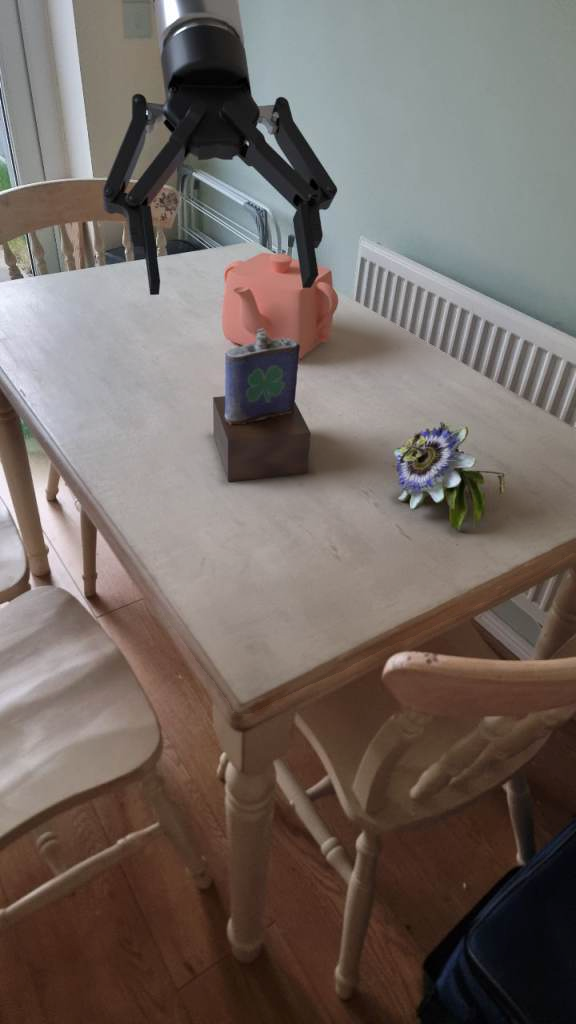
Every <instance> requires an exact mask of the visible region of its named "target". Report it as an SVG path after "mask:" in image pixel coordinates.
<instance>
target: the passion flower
mask: <svg viewBox="0 0 576 1024" xmlns="http://www.w3.org/2000/svg"><path fill="white" fill-rule="evenodd" d="M439 425H440V427H438V428H437V429H436V428H435V427H433V428H432V430H430V429H429V428H426V429H425V431H423V430H420V431H419V432H417V433H414V435H413V436H412V437H410V438H409V439H407V441H406V442H405V443H404V444H403V445H402V446H401V447H397V448H395V449H394V450H393V454H394V456H395V457H396V459H397V463H396V465H395V468H396V472H397V473H398V475H397V476H398V480H397V483H398V485H399V486H400V488H401V490H403V491H402V492H401V493H400V495H399V497H397V500H398V501H400V502H408V501H409V508H410V510H412V511H413V510H417V509H419V508H421V507H422V506H423V505H424V504H425V502H426V500H427V498H428V496H430V497H431V499H432V500H433V501H434V502H435V503H436V504H439V503H441V502H443V501H444V500H445V499H446V503H447V506H448V514H449V515H448V516H449V517H448V519H449V525H450V527H451V528H452V529H454V530H456V532H461V531H462V527H463V524H464V523H465V521H466V519H467V514H468V510H469V509H468V505H467V496H466V489H468V493H469V495H470V498H471V503H472V504H471V505H472V508H471V509H472V518H473V525H472V527H473V528H474V527H476V524H478V522H479V521H480V520H481V518H482V517H483V516H484V512H485V506H486V504H485V501H486V499H485V498H486V496H485V495H486V494H485V492H484V491H483V490H482V487H481V486H480V485H484V483H485V479H484V478H485V477H484V475H483V474H482V473H485V474H496V475H497V478H498V481H499V490H498V493H499V494H500V495H502V494H504V493H505V475H506V474H505V473H504V472H499V471H490V470H466V469H469V468H472V467H474V466H475V465H476V463H477V458H476V457H475V456H473V455H471V454H469V453H465V451H463V450H462V451H460V450H459V448H460V446H461V445H462V444H463V443H464V442H465V440H466V439H467V437H468V435H469V429H468V428H469V427H468V426H461V427H458V428H457V429H456V430H453V428H452V425H451V424H449V423H444V422H443V421H440V423H439Z"/></svg>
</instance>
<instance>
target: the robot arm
mask: <svg viewBox="0 0 576 1024" xmlns="http://www.w3.org/2000/svg"><path fill="white" fill-rule="evenodd" d="M152 1H153V9H154V15H155V23H156V33H157V41H158V46H159V54H160V66H161V72H162V80H163V88H164V95H165V101H164V103H154V102H148V101H147V98H146V97H145V95H143V94H141V93H135V94H133V95H132V97H131V120H130V122H129V123H128V126H127V129H126V132H125V134H124V137H123V139H122V141H121V143H120V146H119V149H118V151H117V153H116V157H115V158H114V161H113V163H112V165H111V168H110V170H109V173H108V175H107V178H106V181H105V184H104V185H103V188H102V201H103V209H104V211H105V212H106V213H107V214H110V215H114V214H119V215H122V216H123V217H125V220H126V222H127V229H128V236H129V245H130V249H131V251H132V253H133V255H144V257H145V259H144V260H145V265H146V273H147V281H148V288H149V289H148V290H149V295H150V296H158V295H160V289H161V276H160V270H159V261H158V253H157V245H156V238H155V237H156V236H155V230H154V222H153V215H152V207H151V203H153V201H154V200H155V198H156V197H157V196H158V194H159V193H160V191H161V190H162V189H163V188H164V187H165V185H166V184H167V182H169V180H170V178H171V177H172V176H173V175H174V173H175V172H176V170H177V169H178V168H180V167H182V165H183V164H184V163H185V161H187V159H188V158H189V156H190V155H192V156H193V157H196V158H197V160H198V161H206V160H207V161H208V160H211V159H220V160H223V161H232V160H233V159H234V157H238V158H239V159H240V160H241V161H242V162H243V163H244V164H245V165H246V166H248V167H252V168H253V169H254V170H255V171H256V172H257V173H258V174H259V175H260V176H261V177H263V179H264V180H265V181H266V182H268V183H269V185H270V186H271V187H273V188H274V189H275V191H277V192H278V193H279V195H281V196H282V197H283V198H284V200H285V201H287V203H288V204H290V205H291V206H292V207H293V209H295V212H294V215H293V217H292V224H293V229H294V238H295V244H296V252H297V258H298V259H297V260H299V266H300V273H301V279H302V286H303V288H311V286H312V285H313V283H314V281H315V280H316V278H317V276H318V275H319V274H318V268H317V265H318V261H317V255H316V249H318V248H319V246H320V244H321V243H322V241H323V236H324V234H323V229H322V228H323V227H322V219H321V212H320V211H321V210H322V211H327V210H329V208H330V207H331V205H332V203H333V201H334V199H335V197H336V195H337V193H338V188H337V185H336V183H335V182H334V180H333V179H332V178H331V176H330V174H329V173H328V171H327V170H326V168H325V166H324V165H323V164H322V162H321V160H320V159H319V158H318V156H317V155H316V153H315V152H314V150H313V148H312V146H311V145H310V144H309V143H308V141H307V139H306V138H305V136H304V135H303V133H302V131H301V130H300V128H299V127H298V125H297V124H296V123H295V120H294V118H293V114H292V111H291V107H290V103H289V101H288V99H287V98H286V97H283V96H279V97H277V98H276V99H275V102H274V104H267V105H258V104H257V103H256V100H255V99H254V98H253V94H252V88H251V87H252V86H251V81H250V74H249V73H250V72H249V67H248V59H247V53H246V49H245V40H244V39H245V38H244V37H245V36H244V31H243V25H242V18H241V12H240V5H239V0H152ZM159 123H163V125H164V126H165V128H166V129H167V130H168V131H169V132H170V133H171V134H170V136H169V138H168V140H167V142H166V143H165V145H164V146H163V147H162V149H161V150H160V151H159V152H158V154H157V155H156V157H154V159H153V160H152V161H151V163H150V164H149V165H148V167H147V168H146V169H145V171H143V174H142V175H140V177H139V178H138V180H137V181H136V183H135V184H134V185H133V186H132V188H131V189H130V190H129V192H128V193H127V189H128V187H129V183H130V182H131V178H132V176H133V173H134V171H135V169H136V166H137V164H138V161H139V159H140V157H141V154H142V152H143V151H142V150H144V146H145V144H146V138H147V134H148V135H150V134H152V132H153V131H155V129H156V127H157V124H159ZM258 124H262V125H264V127H265V129H266V130H267V133H268V134H269V135H270V136H273V135H274V136H273V137H274V139H275V141H276V144H277V145H278V147H279V149H280V151H281V152H282V153H283V155H284V156H285V158H286V159H287V161H288V162H289V163H288V162H287V161H286V159H284V158H283V157H282V156H281V155H280V154H279V153H278V152H277V151H276V150H275V148H273V147H272V146H271V145H270V144H269V143H268V142H267V141H266V138H265V135H264V133H263V132H262V131H261V130H260V129H259V128H258V127H257V126H258ZM247 143H248V144H247Z"/></svg>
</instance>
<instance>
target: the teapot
mask: <svg viewBox="0 0 576 1024" xmlns="http://www.w3.org/2000/svg"><path fill="white" fill-rule="evenodd" d="M317 268H318V274H319V275H318V276H317V278H316V280H315V281H314V283H313V285H312V286H311V288H303V286H302V279H301V273H300V266H299V259H295V258H293V257H292V256H291V255H288V254H286V253H269V252H261V253H259V254H256V255H255V256H252V257H250V258H249V259H247V260H245V261H243V260H235V261H233V262H231V263H229V264H228V265H227V266H226V268H225V269H224V272H223V278H224V284H225V285H224V290H223V291H224V292H223V300H222V311H221V327H222V332H223V336H224V339H226V340H228V341H230V342H233V343H235V344H237V345H241V346H244V345H249V344H253V343H255V342H254V340H256V338H257V333H260V332H263V331H260V332H258V331H257V330H258V329H264V331H267V332H266V336H267V337H268V338H270V339H271V340H276V339H277V340H281V339H278V338H284V339H293V340H294V341H296V342H297V343H298V344H299V345H300V350H299V360H300V359H302V358H303V357H305V356H306V355H307V354H309V353H310V352H311V351H313V350H314V349H315V348H316V347H317V346H318V345H320V344H321V343H327V342H329V341H330V340H331V338H332V334H333V332H332V326H333V319H334V314H335V312H336V310H337V308H338V305H339V296H338V293H337V291H336V290H335V289H334V286H333V275H332V269H329V268H327V267H324V266H322V265H318V264H317ZM254 331H255V332H256V333H253V332H254Z"/></svg>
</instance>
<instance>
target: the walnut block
mask: <svg viewBox="0 0 576 1024" xmlns="http://www.w3.org/2000/svg"><path fill="white" fill-rule="evenodd" d="M294 409H295V410H293V412H292V413H287V414H282V415H275V416H273V417H271V416H267V417H266V418H265V419H262V420H257V421H250V422H246V423H245V424H229V423H228V422H227V421H226V419H225V395H223V396H213V397H212V413H213V414H212V417H213V419H212V420H213V421H212V425H213V426H212V427H213V439H214V442H215V445H216V449H217V452H218V456H219V458H220V462H221V464H222V465H221V466H222V467H223V471H224V474H225V477H226V480H227V482H228V483H231V482H241V481H250V480H257V479H258V480H259V479H266V478H276V477H285V476H294V475H303V474H307V473H308V469H309V468H308V467H309V457H310V447H311V436H312V432H311V430H310V429H309V426H308V425H307V422H306V420H305V419H304V416H303V415H302V412H301V411H300V408H299V406H298V404H297V403H296V402H295V405H294Z"/></svg>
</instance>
